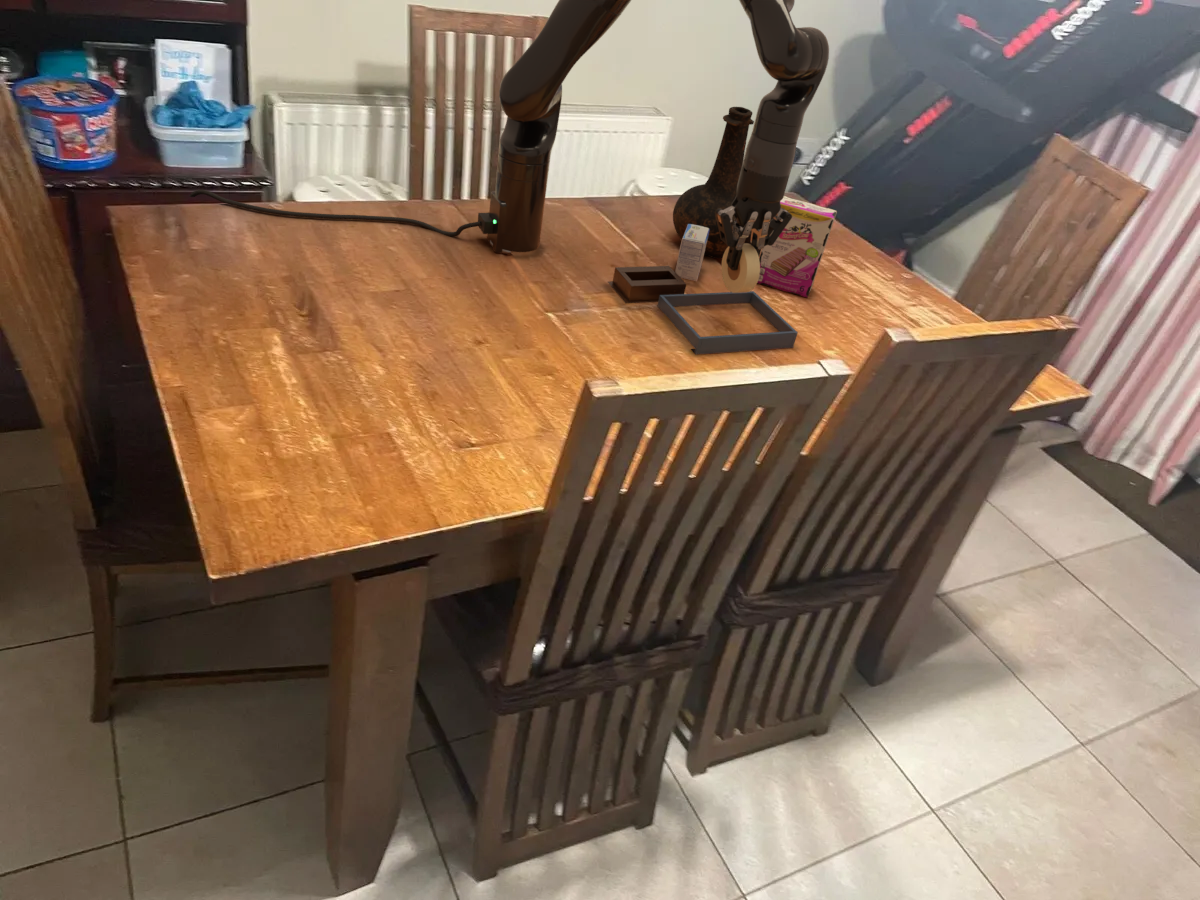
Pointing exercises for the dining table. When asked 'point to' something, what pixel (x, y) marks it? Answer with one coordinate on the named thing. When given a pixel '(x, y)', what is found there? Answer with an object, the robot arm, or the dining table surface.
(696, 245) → the medicine box
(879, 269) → the dining table surface
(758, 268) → the tape roll
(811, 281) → the candy bar box
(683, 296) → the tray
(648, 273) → the holder
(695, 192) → the glass bottle
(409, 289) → the dining table surface
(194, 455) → the dining table surface
